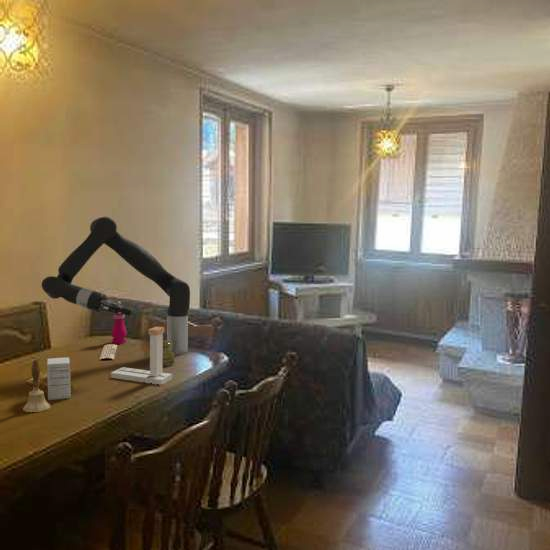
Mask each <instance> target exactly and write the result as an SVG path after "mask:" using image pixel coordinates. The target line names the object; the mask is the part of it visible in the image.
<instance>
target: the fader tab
mask: <svg viewBox="0 0 550 550" xmlns="http://www.w3.org/2000/svg"><path fill="white" fill-rule="evenodd" d="M164 333H165V327H163V326H154V327H151V328H148V333H147V334H148V335H149V371H150V376H155V377H157V376H159V375H161V374H162V373H163V368H164V366H163V341H164V339H163V338H164V335H163V334H164Z"/></svg>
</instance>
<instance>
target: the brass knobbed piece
mask: <svg viewBox="0 0 550 550" xmlns="http://www.w3.org/2000/svg"><path fill="white" fill-rule="evenodd" d="M171 345H172V343H171V342H169V341H167V339H166V340H163V367H169V366H170V365H171V366H173V364H174V363H176V362H175V359H176V358H175V356H176V354H174V352H172V351H171V350H170V349H169V347H170V346H171ZM174 365H175V364H174ZM171 366H170V367H171Z"/></svg>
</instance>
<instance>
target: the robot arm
mask: <svg viewBox="0 0 550 550" xmlns="http://www.w3.org/2000/svg"><path fill="white" fill-rule="evenodd" d="M89 227H90V228H89V230H90V233H89V234H88V236H87V237H86V238H85V239H84V240H83V242H82V243H80V245H78V246H77V248H75V249H74V250H73V251H72V252H71V253H70V254H69V255H68V256H67V257H66V258H65V260H64V261H63V262H62V263H61V265H59V267H58V269H57V270H58V271H57V272H58V275H57V276H53V275H52V276H51V275H50V276H46V277H45V278H44V279H43V280H42V281H41V288H42V291H44V292H45V294H46V295H47V296H48V297H49V298H51V299H54V300H55V299H60V298H61V299H63V300H65V301H66V302H68V303H71V304H74V305H77V306H80V307H81V308H83V309H87V310H90V311H92V312H95V313H100V312H102V311H103V312H108V313H113V314H114V313H122V314H124V316H128V317H129V316H132V315H133V312H134V311H133V310H132V309H130V308H127V307H126V306H125V305H123V304H122V303H121V304H120V303H118V301H117V302H115V301H114V300H111V299H109V300H107V295H106V294H105V293H102V292H99V291H96V290H93V289H90V288H85V287H82V286H78V285H76V284H72V282H73V281H74V278H75V277H76V275H78V273H79V272H80V271H81V270H82V269H83V267H85V265H86V263H88V262H89V260H90V259H91V257H92V256H93V255H94V254H95V253H96V252H97V251H98V250H99V249H100V248H101V247H102V246H103V245H105V246H107V247H109V248H110V249H111V250H113V251H114V252H115V253H116V254H118V256H119V257H120V258H122V259H123V260H124V261H125V262H126V263H128V264H129V265H130V266H131V267H132V268H133V269H135V271H137V272H138V273H140V274H141V275H142V276H144V277H145V278H147V279H149V280H151V281H152V282H154V283H155V284H156V285H157V286H158V287H159V288H161V289H162V290H163V292H164V293H165V294H166V295H167V296H168V297H169V306H168V308H167V312H166V313H167V314H166V316H167V317H166V319H167V321H166V322H167V323H166V324H167V325H166V331H167V333H166V340H167V341H169V342H171V343H172V345H171V346H170V347H169V349H170V350H171V351H172V352H174V354H175V355H183V354H187V353H188V351H189V350H188V348H189V347H188V343H189V342H188V341H189V329H188V328H189V326H188V325H189V310H190V300H191V290H190V285H189V284H188V283H187V282H186V281H184V280H181V278H178V277H176V276H174V275H173V274H171V273H170V272H169V271H167V270H166V269H165V268H164V267H163V265H161V263H160V262H159V261H158V260H157V259H156V258H155V256H153V255H152V253H150V252H149V251H148V250H147V249H145V248H144V247H143V246H141V245H139V244H137V243H135V242H133V241H132V240H130V239H128V238H127V237H125V236H123V235H122V234H121V233H120V232H119V231H118V230H117V228H118V226H117V223H116V221H115V220H114V219H113V218H111V217H108V216H102V217H99V218H96V219H94V220H93V221H92V222H91V223H90V225H89Z"/></svg>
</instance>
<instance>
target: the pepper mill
mask: <svg viewBox="0 0 550 550" xmlns="http://www.w3.org/2000/svg"><path fill="white" fill-rule="evenodd" d="M117 302H118V303H120V304H121V305H122V303H121V301H120V300H119V301H117ZM113 318H114V323H113V326H112V329H111V337H112V339H111V340H112V341H111V342H112V343H111V344H115V345H122V343H123V344H125V342H126V341H127V339H126V337H127V335H128V331H127V329H126V326H125V323H124V319H125V314H122V313H113ZM126 343H127V342H126Z"/></svg>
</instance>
